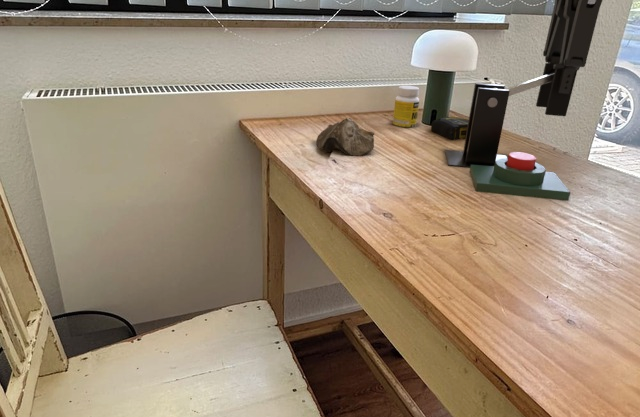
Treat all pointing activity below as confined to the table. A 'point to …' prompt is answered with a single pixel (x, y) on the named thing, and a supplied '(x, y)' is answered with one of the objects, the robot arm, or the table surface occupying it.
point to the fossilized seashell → (346, 138)
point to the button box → (518, 181)
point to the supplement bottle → (406, 107)
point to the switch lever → (531, 83)
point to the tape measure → (450, 127)
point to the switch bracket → (482, 128)
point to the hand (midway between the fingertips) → (550, 110)
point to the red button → (521, 161)
